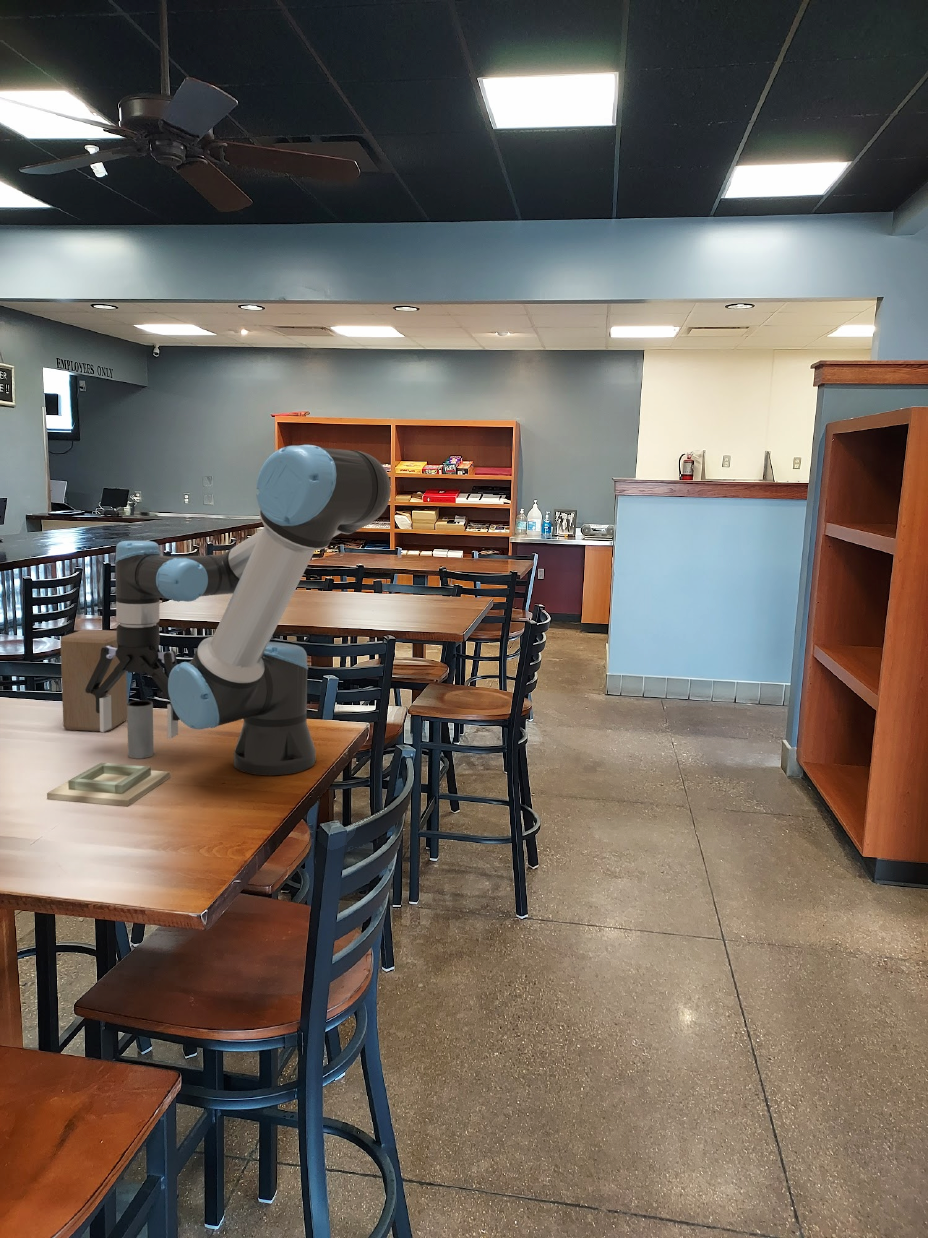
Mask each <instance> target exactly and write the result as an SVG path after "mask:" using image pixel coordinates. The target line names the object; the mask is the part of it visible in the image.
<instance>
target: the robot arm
mask: <svg viewBox="0 0 928 1238" xmlns="http://www.w3.org/2000/svg"><path fill="white" fill-rule="evenodd" d="M391 486H392V485H391V481H390V477H389V474H388V472H387V471H386V468H385V467H384V466H383V464H382V463H381V462H380V461H379V460H378V459H377V458H376V457H374V456H372V455H371V454H368V453H366V452H363V451H360V450H353V449H350V450H349V449H340V448H339V449H337V448H326V447H320V446H317V445H315V444H314V445H312V444H302V445H288V446H284V447H281V448H279V449H278V450H276V451H274V452H273V453H272V454H270V455H269V457H268V458H266V460H265V461H264V463H263V465H262V466H261V468H260V470H259V473H258V476H257V479H256V484H255V487H256V490H258V493H257V494H256V502H257V504H258V507H259V509H260V511H259V518H260V521H261V522H262V524H263V527H262V529H261V530H259V531H257V532H256V533H254V534H253V535H251V536H249V537H248V538H245V540H243V541H241V542H240V543H238V544H237V545H234V547H232V548H230V549H229V550H227V551H226V552H225V551H224V553H221V554H209V555H189V556H188V555H187V556H169V555H161V552H160V546H159V544H158V543H157V542H155V541H149V540H123V541H119V542H118V543H117V544H116V547H115V561H114V565H115V596H116V601H115V602H116V605H115V607H116V609H115V611H116V612H115V614H116V615H115V621H116V622H117V623H118V624H117V625H116V631H117V644H118V647H117V648H114V647H113V646H112V645H109V646H106V647H103V648H102V649H101V654H100V660H99V662H98V664H97V666H96V668H95V670H94V672H93V674H92V676H91V679H90V681H89V683H88V685H87V687H86V689H85V691H86V693H91V694H93V695H94V696H95V697H96V712H97V713H100V731H99V732H102V733H103V732H104V733H105V732H107V731H106V730H108V729H110V728H112V721H111V695H106V694H108V691H109V690H110V689H111V688H112V687H113V686H114V685H115V683H116V682H117V681H118V680H119V679H120V678H121V676H122V675H123V674H124V673H125V672H126V671H127V673H129V674H134V673H137V674H141V675H144V674H147V675H148V677H149V678H152V680H153V681H154V682H155V683H156V685H157V686H158V687H159V689H160V690H161V691H162V692H163V694H164V695H165V697H166V698H167V699H168V700H169V702H170V703H167V705H166V706H167V707H166V708H167V709H166V710H167V711H166V712H167V714H166V715H167V720H166V722H167V730H166V731H167V732H166V733H167V735H166V736H167V739H173V738H175V737H176V736H178V735H179V721H180V722H182V723H183V724H184V725H185V726H187V727H189V728H191V729H193V730H205V729H213V728H217V727H219V726H224V725H227V724H229V723H230V724H231V723H232V722H233V723H234V722H238V721H241V720H243V724H242V728H241V730H240V733H239V737H238V739H237V742H236V745H235V749H234V753H233V766H234V767H235V769H237V770H239V771H240V772H243V773H247V774H250V775H251V774H252V775H257V776H282V775H283V776H285V775H290V774H295V773H300V772H303V771H306V770H308V769H310V768H312V767H313V766H314V765H315V764H316V753H317V751H316V748H315V744H314V741H313V739H312V736H311V732H310V729H309V726H308V722H307V721H308V720H307V716H308V715H307V711H308V710H307V707H308V672H309V671H308V670H309V667H308V654H307V651H306V650H305V649H304V647H302V646H300V645H296V644H293V643H292V644H291V643H285V642H276V641H271V638H272V637H273V635H274V633H275V631H276V629H277V628H278V627H277V626H278V625H279V623H280V621H281V619H282V617H283V616H284V613H285V612H286V609H287V607H288V605H289V603H290V601H291V599H292V597H293V595H294V593H295V591H296V588H297V587H298V585H299V583H300V581H301V579H302V577H303V575H304V573H305V571H306V570H307V567H308V565H309V564H310V562H311V559H312V557H313V555H314V553H315V552H316V551H319V550H324V549H326V548H327V547H328V546H329V545H330V544H331V541H332V540H333V538H334V537H336V536H338V535H339V534H342V535H343V534H345V535H350V534H353V533H355V532H357V531H359V530H361V529H362V528H364V527H366V526H367V525H368V526H369V524H371V523H373V522H374V521H375V520H377V519H378V518H380V517H381V516H382V514H383V513H384V512H385V511H386V509H387V507H388V505H389V502H390V499H391V494H392V493H391V492H392V487H391ZM231 594H232V595H231ZM217 595H218V596H219V595H231V597H230V599H229V602H228V604H227V607H226V608H225V610H224V612H223V615H222V616H221V619H220V621H219V624H218V626H217V627H216V630H215V632H214V634H213V636H209V637H207V638H204V639H203V640H202V641H201V642H199V645H198V647H197V649H196V651H195V653H194V655H193V657H192V659H191V660H190V661H184V662H180V663H179V664H178V662H177V661H178V660H177V653H176V651H175V650H174V649H172V650H170V651H161V650H160V642H161V641H160V640H161V639H160V638H161V634H160V631H161V629H160V625H159V624H158V623H159V622H160V600H161V599H160V598H162V599H168V600H170V601H174V602H178V603H179V602H189V603H190V602H193V601H194V602H195V601H196V600H197V599H199V598H200V597H208V596H217ZM115 655H116V656H117V658H118V659H119V661H120V663H119V664H118V665H117V666H116V667H115V668H114V671H113V672H112V673H111V674H110V675H109V677H108V678H107V679H106V680H105V681H104V682H103V683H102V685H101V686H100V684H101V682H102V680H103V678H104V676H105V674H106V672H107V670H108V668H109V666H110V664H111V661H112V659H113V658H114V657H115ZM160 660H161V663H163V664H164V667H165V669H166V671H167V672H166V673H167V674H168V676H167V674H166V673H165V672H164V668H163V667H162V665H161V664H160V663H159V661H160ZM99 686H100V687H99Z"/></svg>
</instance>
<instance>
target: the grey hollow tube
mask: <svg viewBox="0 0 928 1238" xmlns="http://www.w3.org/2000/svg"><path fill="white" fill-rule="evenodd" d="M126 721H127V756H128V757H129V758H130V759H136V760H137V759H146V758H147V759H148V758H150V757H153V755H154V746H155V745H154V704H153V701H151V700H147V699H144V700H143V699H141V700H140V699H139V700H132V701H128V702H127V719H126Z"/></svg>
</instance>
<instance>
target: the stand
mask: <svg viewBox="0 0 928 1238" xmlns="http://www.w3.org/2000/svg"><path fill="white" fill-rule="evenodd" d="M169 778H171V772H170V771H162V770H161V771H160V770H152V767H151V766H145V765H134V764H133V765H132V764H121V763H120V764H119V763H110V762H109V763H108V762H99V763H97V764H95V765H94V766H92V767H90V768H88V769H86V770H85V771H83V772H80V774H78V775H76V776H74V777H72V778H71V779H68V781H66V782H64V783H63V784H60V785H59V786H57V787H55V788H53V789H52V790H50V791H48V792H47V793H46V800H54V801H55V800H57V801H66V802H67V801H68V802H75V803H77V802H78V803H86V804H97V805H98V804H99V805H109V806H120V807H129V806H131V805H132V804H133V803H135V802H136V801H138V800H139V799H140V798H142V797H144V796H145V795H146V794H148V793H149V792H151V791H152V790H154V789H155V788H157V787H158V786H160V785H161V784H163V782H165V781H167V780H169Z"/></svg>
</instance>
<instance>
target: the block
mask: <svg viewBox="0 0 928 1238" xmlns="http://www.w3.org/2000/svg"><path fill="white" fill-rule="evenodd" d="M109 645H112V646H113V647H114V648H117V647H118V644H117V630H107V629H87V628H86V629H85V628H84V629H81V630H78V631H75V632H73V633H69V634H67V635H63V636H62V637H60V665H61V671H60V672H61V690H62V691H61V692H62V693H61V695H62V720H63V721H62V725H63V726H62V727H63V728H64V729H65V730H69V731H88V732H92V731H93V732H100V713H97V712H96V697H95V696H94V695H93V694H91V693H86V691H85V689H86V687H87V685H88V683H89V681H90V679H91V676H92V674H93V672H94V670H95V668H96V666H97V664H98V662H99V660H100V654H101V649H102V648H103V647H106V646H109ZM119 663H120V661H119V659H118V658H117V656H116V655H115V657H114V658H113V659H112V661H111V664H110V666H109V668H108V670H107V672H106V674H105V676H104V678H103V680H102V682H101V684H100V686H101V685H102V683H103V682H104V681H105V680H106V679H107V678H108V677H109V675H110V674H111V673H112V672H113V671H114V668H115V667H116V666H117V665H118V664H119ZM127 673H128V671H126V672H125V673H124V674H123V675H122V676H121V678H120V679H119V680H118V681H117V682H116V683H115V685H114V686H113V687H112V688H111V689H110V690H109V691H108V694H106V695H111V721H112V728H110V729H108V730H106V731H105V732H109V731H111V730H112V729H114V728H116V727H118V726H120V725H121V724H122V723H123V722H125V721H127V704H128V683H127V682H128V679H127V678H128V677H127V675H128V674H127ZM100 686H99V687H100Z"/></svg>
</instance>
